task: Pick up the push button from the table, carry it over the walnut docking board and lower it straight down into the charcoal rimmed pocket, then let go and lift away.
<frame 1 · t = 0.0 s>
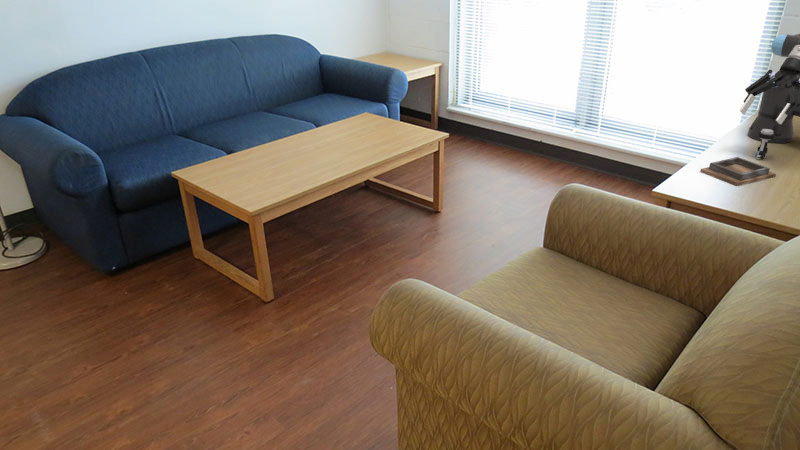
hand: (759, 117, 202), 15 cm above the table, tool tilted 35°, fingers open, 13 cm apart
dock: (737, 174, 197), on the table
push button: (759, 158, 210), on the table
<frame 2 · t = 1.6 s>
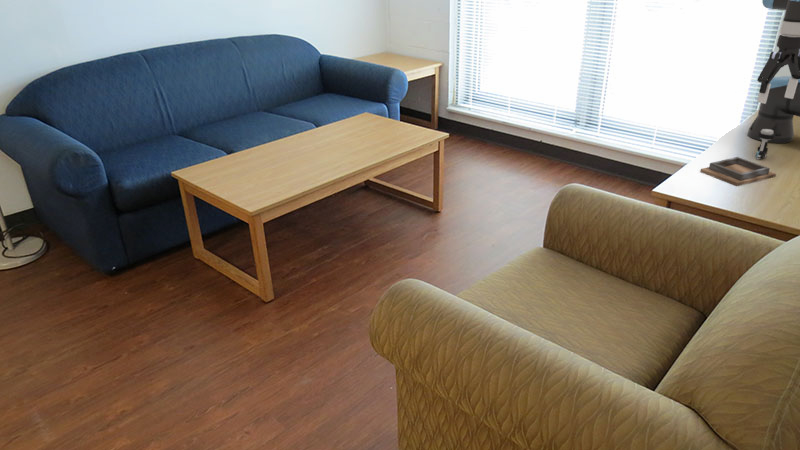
hand: (775, 100, 201), 21 cm above the table, tool pointing down, fingers open, 13 cm apart
nothing on the table moved.
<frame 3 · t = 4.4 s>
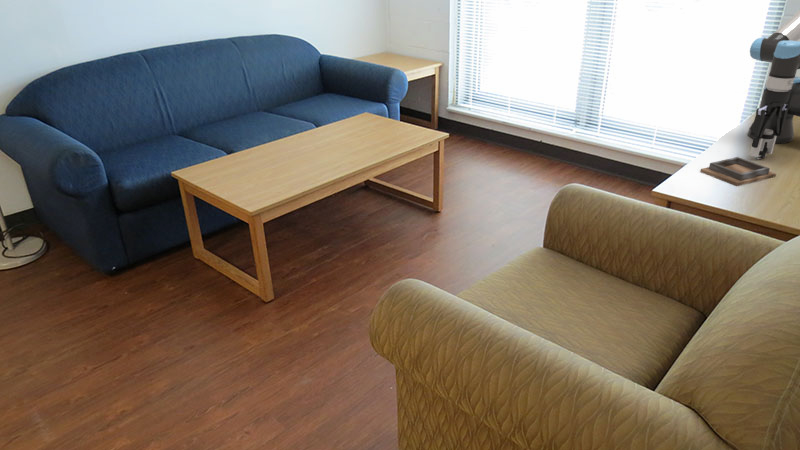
hand: (760, 154, 210), 1 cm above the table, tool pointing down, fingers closed on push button, 6 cm apart
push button: (759, 158, 210), on the table, touching gripper
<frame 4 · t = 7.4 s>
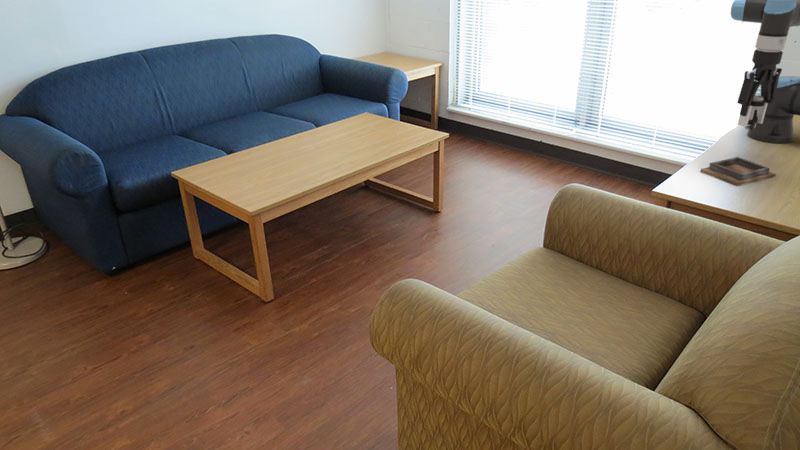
hand: (750, 123, 190), 17 cm above the table, tool pointing down, fingers closed on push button, 6 cm apart
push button: (748, 128, 190), point 16 cm above the table, touching gripper
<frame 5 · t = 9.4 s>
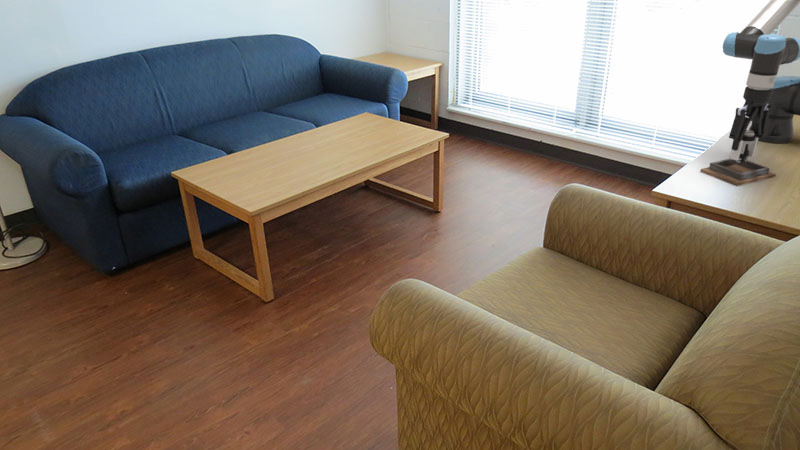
hand: (741, 157, 195), 6 cm above the table, tool pointing down, fingers closed on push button, 6 cm apart
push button: (740, 162, 195), point 4 cm above the table, touching gripper
when the fingers open (3 cm above the table, at t = 10.7 s): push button stays where it is, resting on dock.
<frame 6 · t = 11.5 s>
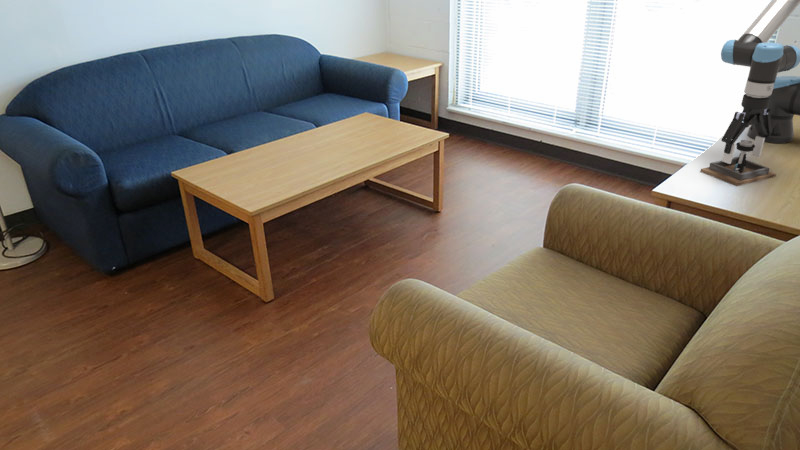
hand: (741, 159, 195), 5 cm above the table, tool pointing down, fingers open, 13 cm apart
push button: (738, 171, 197), point 1 cm above the table, touching dock
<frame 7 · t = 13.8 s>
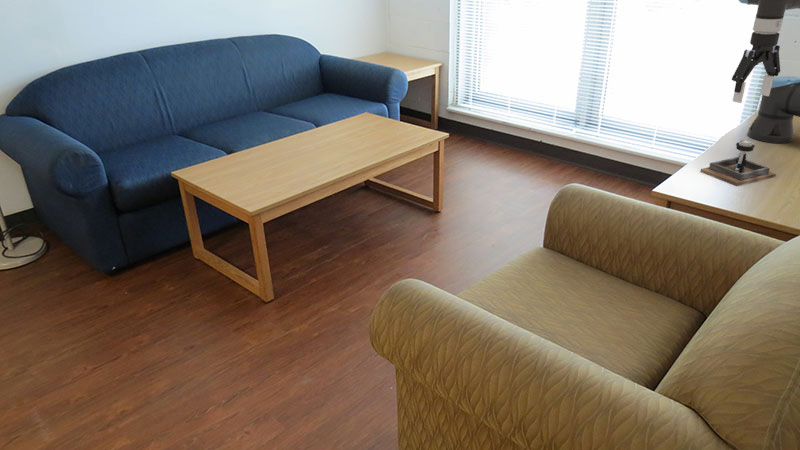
hand: (750, 98, 196), 23 cm above the table, tool pointing down, fingers open, 13 cm apart
nothing on the table moved.
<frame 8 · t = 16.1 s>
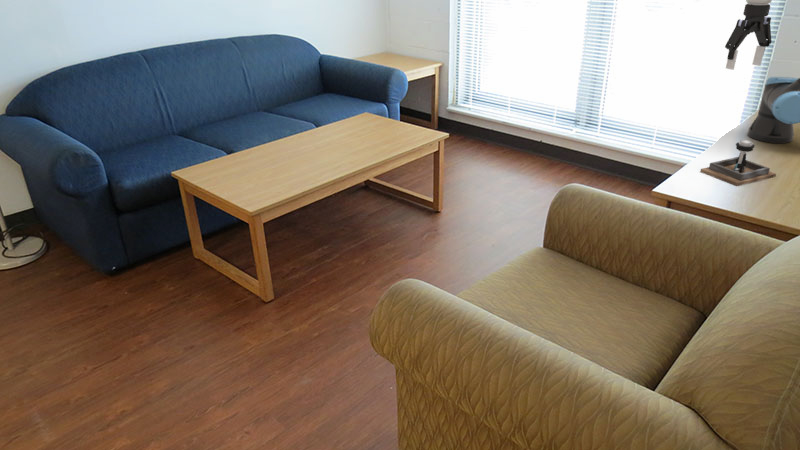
hand: (743, 67, 211), 29 cm above the table, tool pointing down, fingers open, 13 cm apart
nothing on the table moved.
at the end: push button 0.1 cm off-centre on the dock, point 0.8 cm above the dock's base; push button tilted 0°; the gripper is holding nothing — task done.
